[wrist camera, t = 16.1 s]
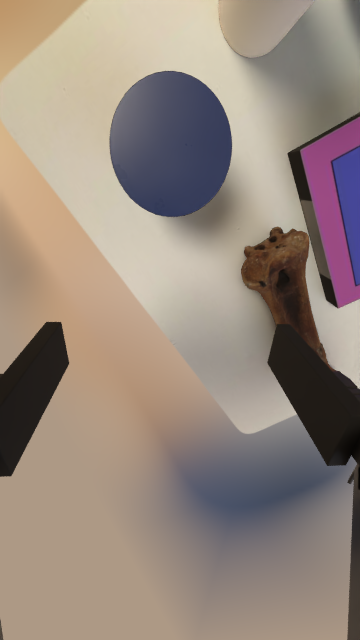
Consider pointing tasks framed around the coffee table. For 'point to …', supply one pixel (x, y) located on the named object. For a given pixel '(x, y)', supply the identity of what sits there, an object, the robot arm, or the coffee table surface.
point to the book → (332, 206)
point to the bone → (284, 282)
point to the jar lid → (170, 143)
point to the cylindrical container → (258, 23)
